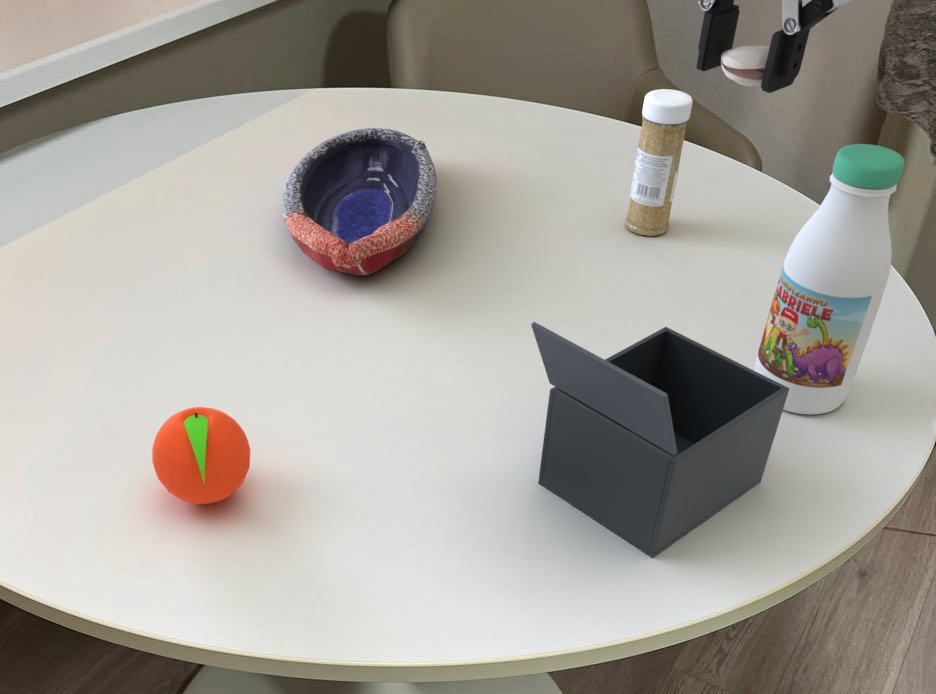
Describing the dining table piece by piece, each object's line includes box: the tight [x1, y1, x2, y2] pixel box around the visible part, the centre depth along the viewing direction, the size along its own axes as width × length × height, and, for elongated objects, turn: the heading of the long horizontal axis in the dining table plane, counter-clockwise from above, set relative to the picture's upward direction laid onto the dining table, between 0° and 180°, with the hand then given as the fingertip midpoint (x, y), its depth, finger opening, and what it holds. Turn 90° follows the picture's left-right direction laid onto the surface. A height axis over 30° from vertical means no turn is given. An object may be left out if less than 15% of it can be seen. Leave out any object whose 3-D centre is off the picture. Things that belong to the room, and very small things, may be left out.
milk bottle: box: [753, 143, 905, 415], centre depth 81 cm, size 8×8×20 cm
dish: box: [281, 127, 438, 276], centre depth 109 cm, size 16×31×5 cm, turn 172°
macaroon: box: [721, 45, 770, 87], centre depth 77 cm, size 4×5×2 cm
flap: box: [530, 321, 677, 456], centre depth 67 cm, size 6×11×1 cm
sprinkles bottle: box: [624, 88, 693, 237], centre depth 105 cm, size 5×5×13 cm
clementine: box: [151, 406, 251, 505], centre depth 75 cm, size 8×7×7 cm
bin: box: [537, 326, 789, 559], centre depth 76 cm, size 13×11×8 cm
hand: (744, 74), depth 77 cm, fingers closed on macaroon, 5 cm apart
